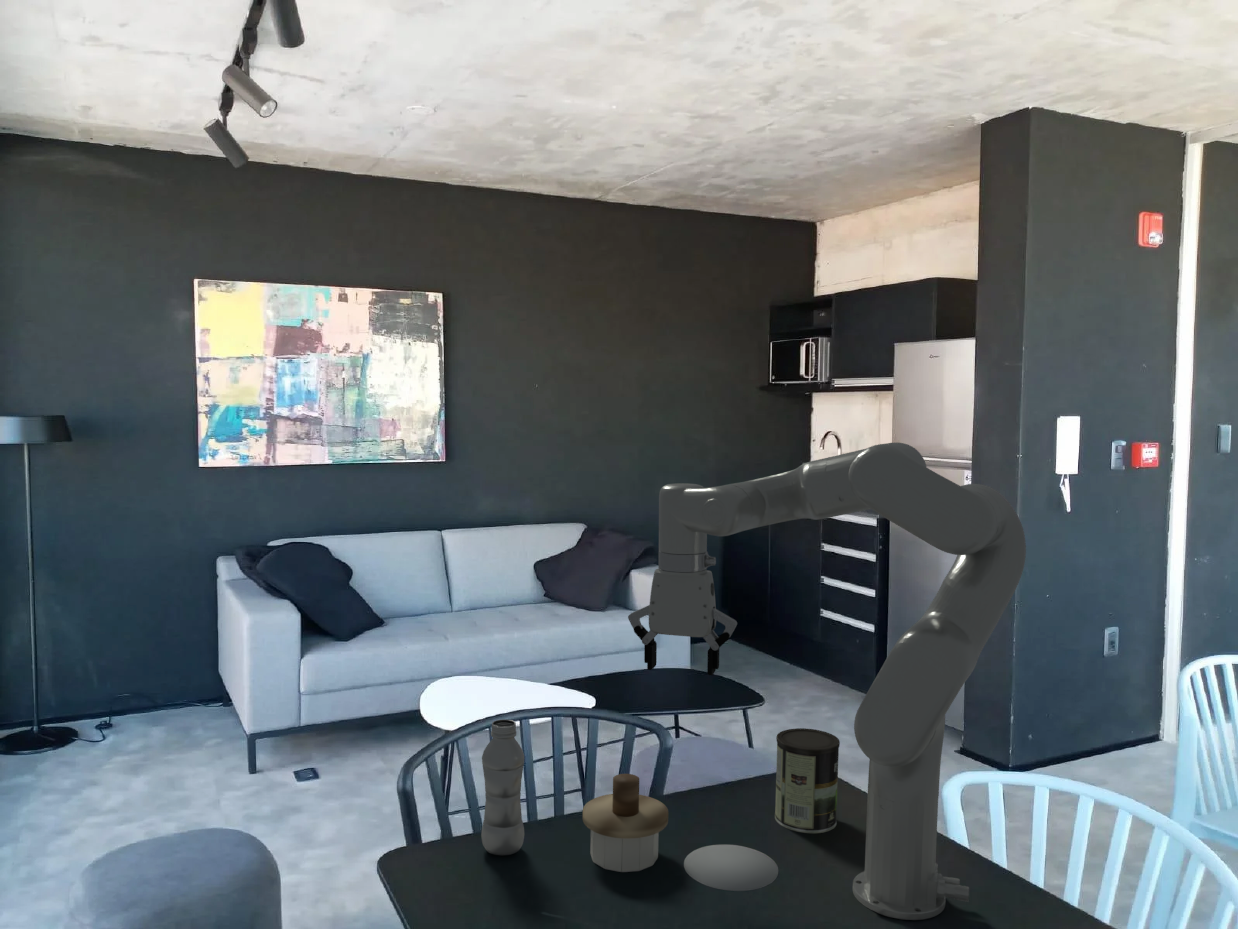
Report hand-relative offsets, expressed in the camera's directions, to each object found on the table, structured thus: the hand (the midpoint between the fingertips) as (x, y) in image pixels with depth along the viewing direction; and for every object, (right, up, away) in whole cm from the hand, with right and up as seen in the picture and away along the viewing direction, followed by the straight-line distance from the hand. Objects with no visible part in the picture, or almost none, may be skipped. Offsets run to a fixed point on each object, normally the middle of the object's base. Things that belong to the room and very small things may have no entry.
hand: (681, 670), depth 151 cm
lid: (-9, -21, -6) cm, 24 cm away
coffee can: (+21, -27, +9) cm, 36 cm away
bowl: (-9, -27, -5) cm, 29 cm away
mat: (+7, -28, -8) cm, 30 cm away
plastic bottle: (-28, -27, -4) cm, 39 cm away
